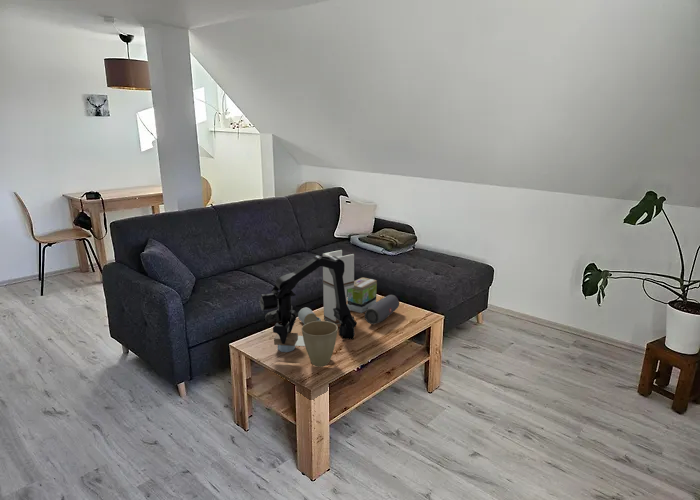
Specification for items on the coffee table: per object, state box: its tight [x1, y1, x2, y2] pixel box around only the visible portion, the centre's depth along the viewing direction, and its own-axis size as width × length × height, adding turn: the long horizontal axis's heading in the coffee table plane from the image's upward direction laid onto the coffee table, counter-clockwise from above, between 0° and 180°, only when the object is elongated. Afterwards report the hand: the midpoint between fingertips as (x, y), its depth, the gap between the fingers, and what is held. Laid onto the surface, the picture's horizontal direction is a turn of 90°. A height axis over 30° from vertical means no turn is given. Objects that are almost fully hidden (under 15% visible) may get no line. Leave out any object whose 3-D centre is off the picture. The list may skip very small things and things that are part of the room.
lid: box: [273, 332, 299, 347], centre depth 207 cm, size 9×6×4 cm
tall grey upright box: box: [322, 249, 355, 325], centre depth 236 cm, size 11×11×35 cm
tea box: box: [346, 276, 378, 314], centre depth 255 cm, size 15×10×15 cm
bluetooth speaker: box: [364, 294, 400, 325], centre depth 241 cm, size 23×9×10 cm, turn 148°
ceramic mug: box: [297, 306, 322, 325], centre depth 236 cm, size 11×8×8 cm
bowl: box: [277, 345, 296, 353], centre depth 208 cm, size 7×7×4 cm
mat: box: [295, 335, 305, 347], centre depth 216 cm, size 10×10×1 cm
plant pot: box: [301, 320, 339, 368], centre depth 196 cm, size 15×15×16 cm
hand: (286, 339), depth 207 cm, fingers open, 9 cm apart
